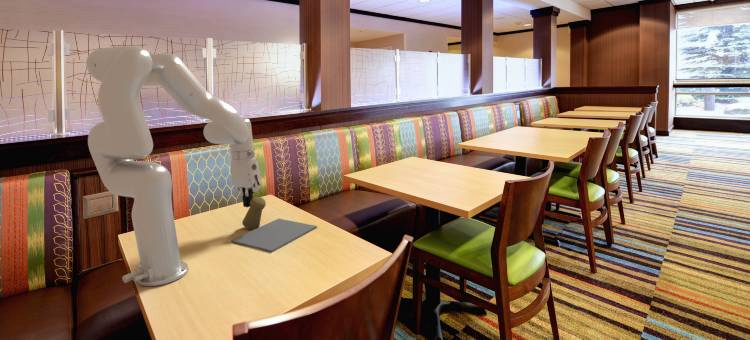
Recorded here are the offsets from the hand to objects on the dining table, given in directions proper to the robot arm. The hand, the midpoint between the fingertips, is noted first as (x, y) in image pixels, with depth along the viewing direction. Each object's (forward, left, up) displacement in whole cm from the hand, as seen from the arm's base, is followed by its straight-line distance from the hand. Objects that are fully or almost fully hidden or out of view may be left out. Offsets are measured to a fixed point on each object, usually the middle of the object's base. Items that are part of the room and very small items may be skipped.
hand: (248, 205), depth 140 cm
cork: (0, 0, -7) cm, 7 cm away
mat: (-1, -13, -8) cm, 15 cm away
